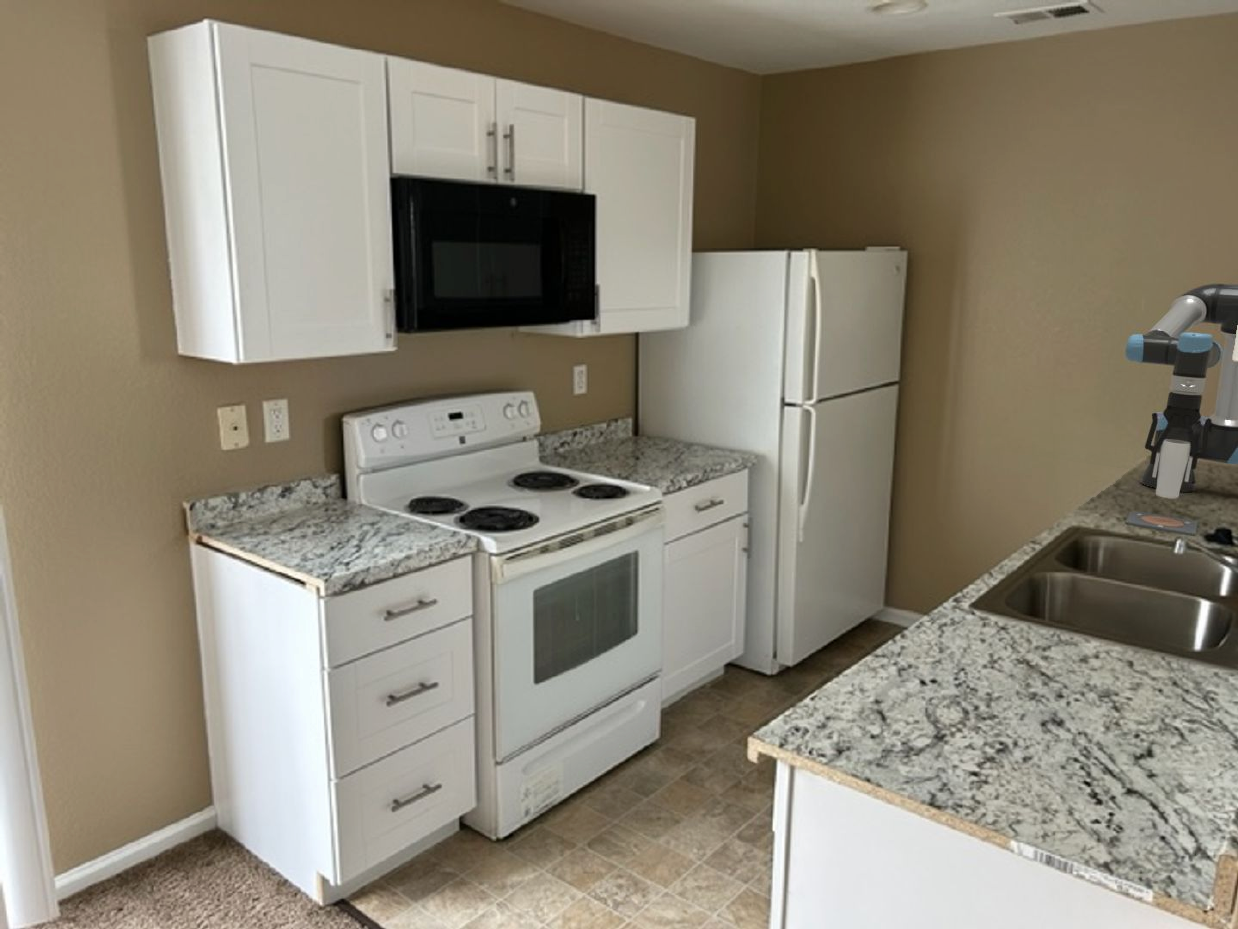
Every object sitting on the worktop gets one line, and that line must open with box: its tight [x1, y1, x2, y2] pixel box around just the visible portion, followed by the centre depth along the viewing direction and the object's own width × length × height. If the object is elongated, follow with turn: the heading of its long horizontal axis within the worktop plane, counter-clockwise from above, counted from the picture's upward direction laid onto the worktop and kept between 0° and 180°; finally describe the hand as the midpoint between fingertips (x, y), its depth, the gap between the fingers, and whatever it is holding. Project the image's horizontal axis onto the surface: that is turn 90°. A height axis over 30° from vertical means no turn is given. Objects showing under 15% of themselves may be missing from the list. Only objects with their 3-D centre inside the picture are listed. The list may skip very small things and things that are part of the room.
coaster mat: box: [1124, 510, 1199, 537], centre depth 249 cm, size 16×16×1 cm
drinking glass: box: [1155, 439, 1191, 500], centre depth 246 cm, size 7×7×15 cm
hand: (1170, 478), depth 246 cm, fingers closed on drinking glass, 7 cm apart
